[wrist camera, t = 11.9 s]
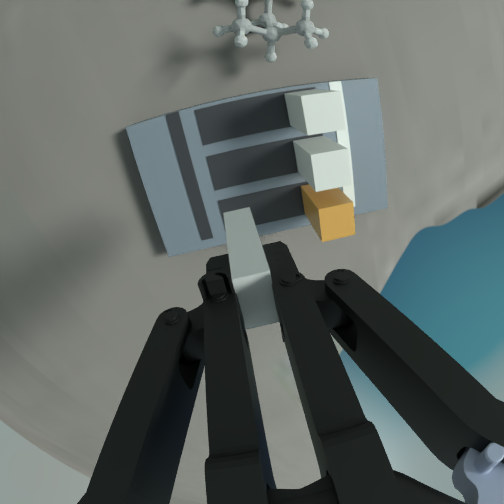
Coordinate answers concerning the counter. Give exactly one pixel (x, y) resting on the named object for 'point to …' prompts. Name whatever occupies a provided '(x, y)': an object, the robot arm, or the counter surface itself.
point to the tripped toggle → (329, 212)
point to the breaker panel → (260, 158)
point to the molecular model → (271, 27)
